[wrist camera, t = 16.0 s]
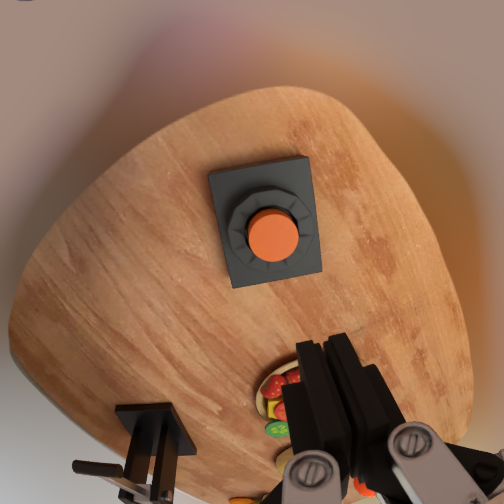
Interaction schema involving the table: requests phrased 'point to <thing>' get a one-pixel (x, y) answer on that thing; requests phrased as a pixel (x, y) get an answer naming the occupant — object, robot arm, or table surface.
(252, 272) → the control block
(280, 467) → the bread roll
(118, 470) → the lever
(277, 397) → the toy food set
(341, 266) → the table surface
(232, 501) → the rattle
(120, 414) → the bracket
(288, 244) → the button
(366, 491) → the clementine
